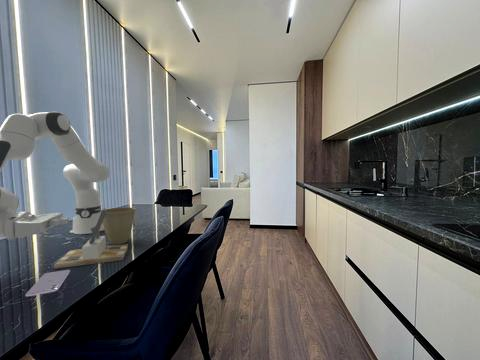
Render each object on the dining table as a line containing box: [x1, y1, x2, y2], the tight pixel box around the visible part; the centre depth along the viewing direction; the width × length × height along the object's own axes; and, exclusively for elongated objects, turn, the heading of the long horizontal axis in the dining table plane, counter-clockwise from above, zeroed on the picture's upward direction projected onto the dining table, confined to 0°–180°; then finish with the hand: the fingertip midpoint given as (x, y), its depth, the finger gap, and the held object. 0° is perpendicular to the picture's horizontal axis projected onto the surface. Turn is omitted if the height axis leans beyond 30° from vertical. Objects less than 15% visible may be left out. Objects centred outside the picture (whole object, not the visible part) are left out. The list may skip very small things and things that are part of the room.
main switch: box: [88, 207, 108, 244], centre depth 89 cm, size 4×1×14 cm, turn 19°
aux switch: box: [91, 226, 101, 239], centre depth 95 cm, size 4×1×5 cm, turn 19°
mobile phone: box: [25, 269, 71, 297], centre depth 72 cm, size 8×1×15 cm
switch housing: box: [81, 235, 107, 260], centre depth 92 cm, size 13×5×5 cm, turn 19°
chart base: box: [53, 243, 129, 270], centre depth 92 cm, size 15×22×2 cm
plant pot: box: [100, 206, 136, 246], centre depth 110 cm, size 15×15×16 cm
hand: (67, 220), depth 86 cm, fingers closed
